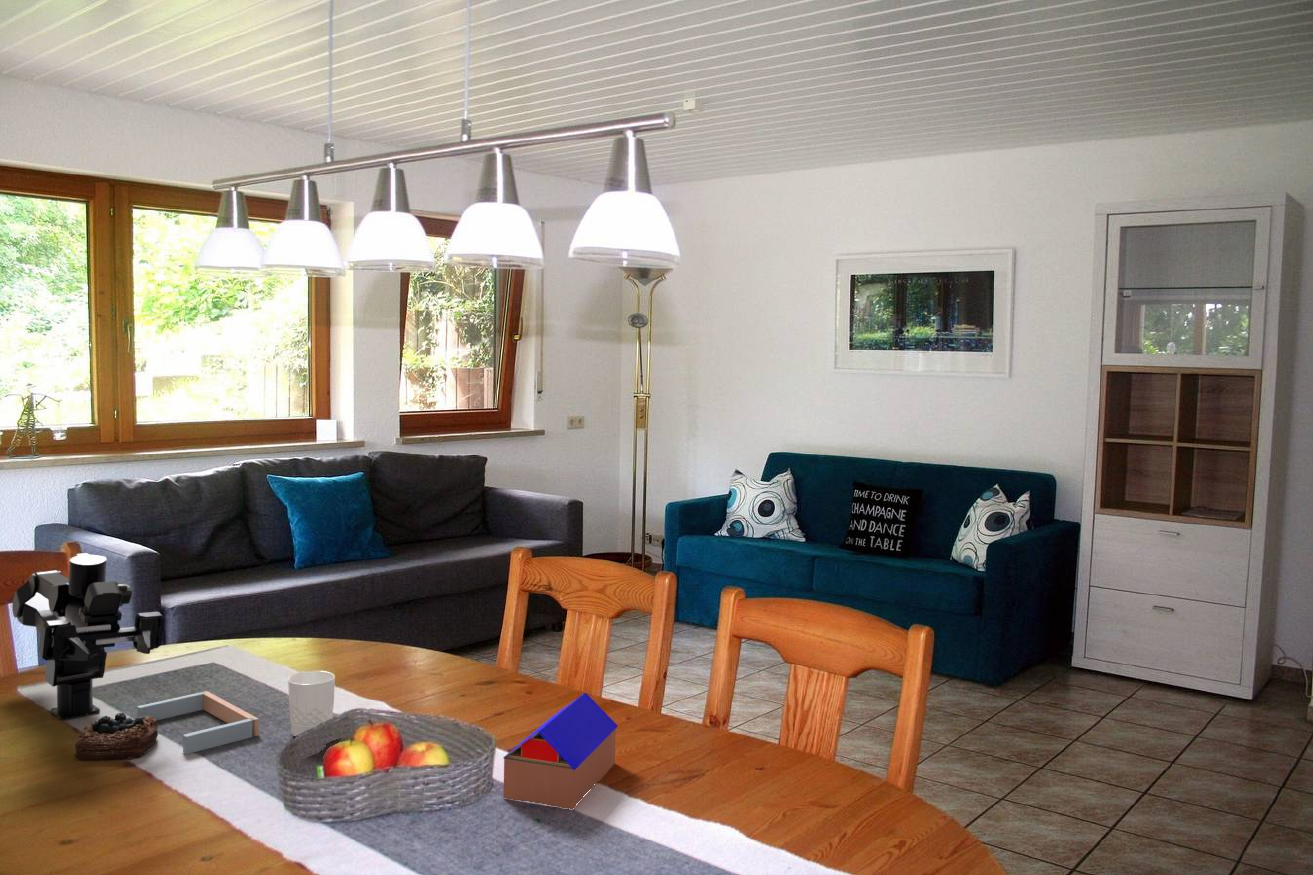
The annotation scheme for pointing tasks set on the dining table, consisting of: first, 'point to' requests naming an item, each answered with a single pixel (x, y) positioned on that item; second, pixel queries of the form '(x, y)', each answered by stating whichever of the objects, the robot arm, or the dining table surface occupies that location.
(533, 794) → the house
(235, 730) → the corral
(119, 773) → the dining table surface
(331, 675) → the white cup
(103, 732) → the pastry
